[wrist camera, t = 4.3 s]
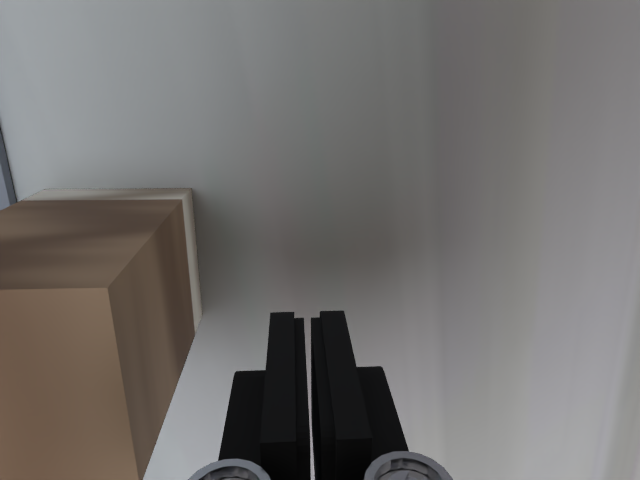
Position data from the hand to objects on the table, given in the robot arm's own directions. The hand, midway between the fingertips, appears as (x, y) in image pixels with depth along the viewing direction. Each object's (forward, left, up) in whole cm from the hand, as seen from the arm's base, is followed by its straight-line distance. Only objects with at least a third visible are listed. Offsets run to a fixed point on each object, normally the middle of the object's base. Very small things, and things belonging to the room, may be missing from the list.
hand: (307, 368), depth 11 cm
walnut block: (+6, 0, -7) cm, 10 cm away
